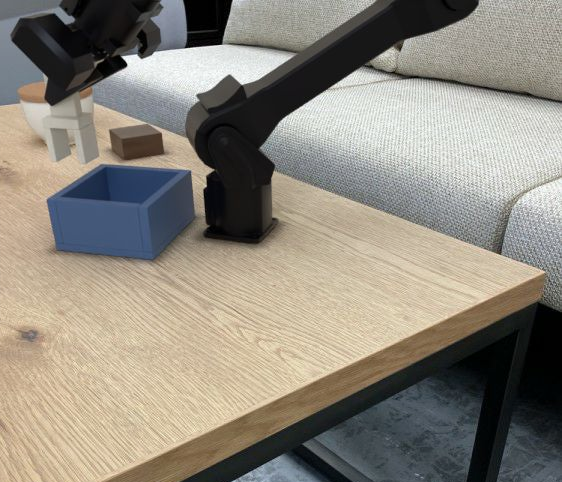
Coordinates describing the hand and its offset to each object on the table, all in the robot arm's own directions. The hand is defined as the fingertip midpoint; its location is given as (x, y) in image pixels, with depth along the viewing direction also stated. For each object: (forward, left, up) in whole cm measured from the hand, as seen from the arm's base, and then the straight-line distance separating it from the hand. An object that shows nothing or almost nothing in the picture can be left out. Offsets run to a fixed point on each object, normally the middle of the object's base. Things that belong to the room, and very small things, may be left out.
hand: (52, 100), depth 71 cm
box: (-7, 0, -13) cm, 15 cm away
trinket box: (+22, -30, -14) cm, 39 cm away
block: (+8, -28, -13) cm, 32 cm away
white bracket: (-1, 0, -6) cm, 6 cm away
